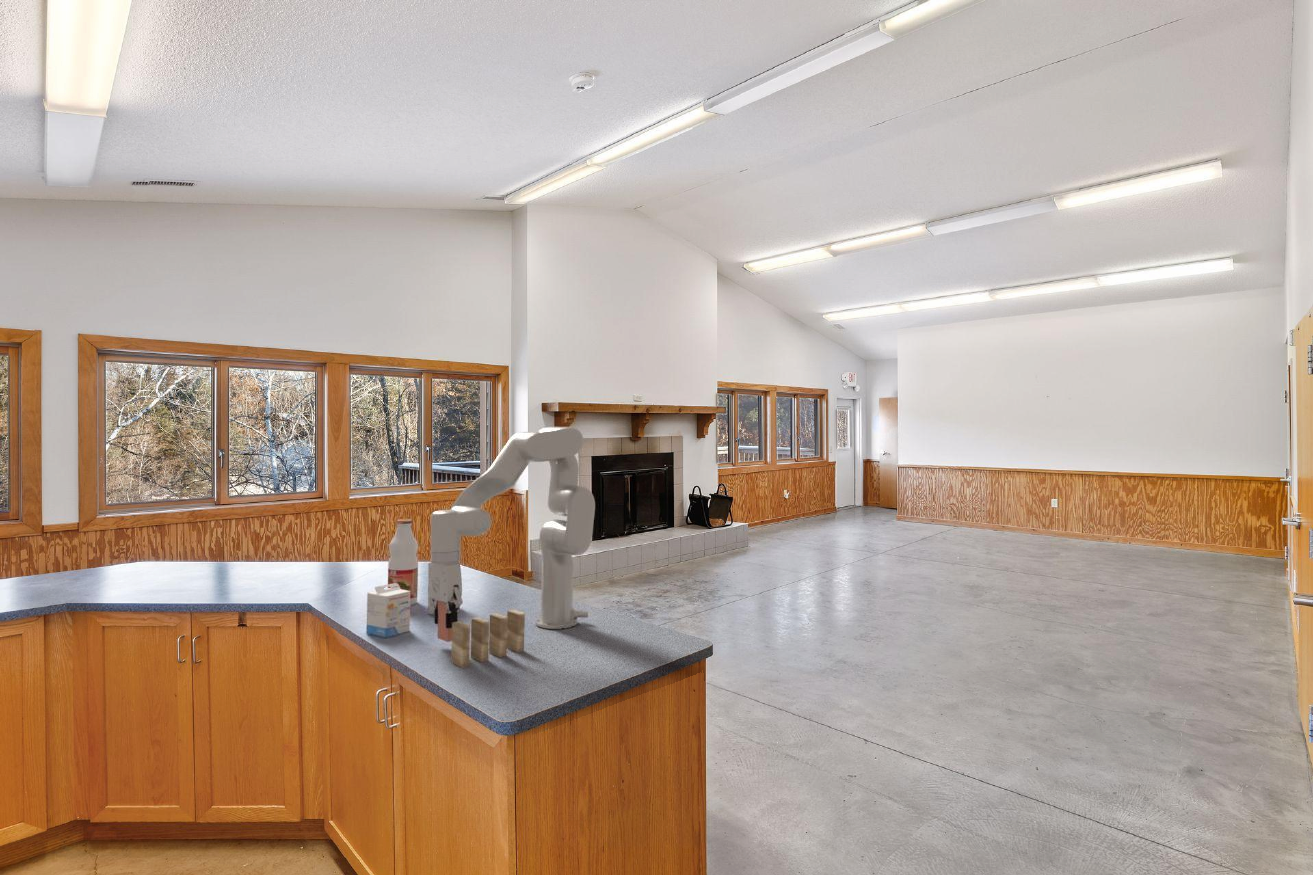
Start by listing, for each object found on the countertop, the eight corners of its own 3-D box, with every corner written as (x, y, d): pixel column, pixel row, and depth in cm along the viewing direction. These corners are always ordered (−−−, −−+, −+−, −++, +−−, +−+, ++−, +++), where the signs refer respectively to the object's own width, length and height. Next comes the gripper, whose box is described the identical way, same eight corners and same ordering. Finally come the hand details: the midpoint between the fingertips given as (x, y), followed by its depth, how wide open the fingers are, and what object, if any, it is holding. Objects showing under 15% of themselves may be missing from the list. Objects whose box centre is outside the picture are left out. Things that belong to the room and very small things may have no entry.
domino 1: (444, 636, 182) (444, 599, 182) (454, 640, 178) (454, 602, 178) (437, 637, 180) (437, 600, 180) (447, 642, 177) (447, 604, 177)
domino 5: (512, 646, 183) (513, 609, 182) (523, 650, 179) (524, 613, 179) (506, 648, 181) (507, 610, 181) (517, 652, 178) (518, 614, 178)
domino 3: (477, 655, 174) (478, 617, 174) (488, 660, 171) (489, 621, 171) (470, 657, 173) (471, 618, 173) (481, 662, 170) (482, 622, 170)
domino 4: (495, 650, 178) (496, 613, 178) (506, 655, 175) (507, 617, 175) (489, 652, 177) (489, 614, 177) (500, 657, 174) (500, 618, 174)
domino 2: (458, 660, 170) (459, 621, 170) (469, 665, 167) (470, 625, 167) (451, 662, 169) (452, 622, 169) (461, 667, 166) (462, 626, 166)
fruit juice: (423, 602, 227) (425, 519, 227) (401, 608, 219) (403, 522, 219) (403, 598, 231) (405, 517, 231) (380, 604, 223) (382, 520, 223)
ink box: (385, 638, 187) (386, 590, 187) (365, 633, 191) (366, 586, 191) (410, 630, 195) (411, 584, 195) (390, 626, 199) (391, 580, 199)
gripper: (416, 554, 182) (417, 621, 182) (449, 563, 170) (450, 635, 171) (442, 550, 187) (442, 615, 188) (475, 559, 176) (476, 628, 176)
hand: (446, 624), depth 179 cm, fingers closed on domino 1, 4 cm apart
